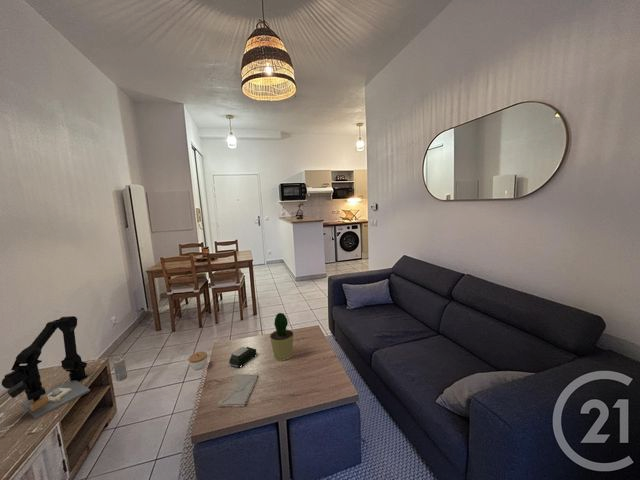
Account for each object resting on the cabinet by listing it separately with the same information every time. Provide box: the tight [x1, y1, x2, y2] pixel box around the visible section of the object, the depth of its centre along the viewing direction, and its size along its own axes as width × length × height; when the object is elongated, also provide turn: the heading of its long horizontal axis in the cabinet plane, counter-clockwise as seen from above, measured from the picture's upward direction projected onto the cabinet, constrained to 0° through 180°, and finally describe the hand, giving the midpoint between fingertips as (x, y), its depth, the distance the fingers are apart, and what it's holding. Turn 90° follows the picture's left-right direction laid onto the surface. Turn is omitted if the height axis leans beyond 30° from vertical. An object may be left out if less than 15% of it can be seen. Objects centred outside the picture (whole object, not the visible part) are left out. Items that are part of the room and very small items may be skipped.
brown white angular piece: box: [30, 388, 72, 411], centre depth 144 cm, size 16×9×4 cm, turn 171°
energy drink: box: [113, 357, 128, 382], centre depth 161 cm, size 5×5×12 cm
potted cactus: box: [269, 312, 294, 361], centre depth 175 cm, size 15×15×30 cm
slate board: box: [20, 380, 91, 420], centre depth 147 cm, size 22×22×4 cm
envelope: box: [217, 373, 259, 406], centre depth 145 cm, size 24×2×14 cm
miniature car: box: [228, 346, 258, 368], centre depth 174 cm, size 9×18×8 cm, turn 151°
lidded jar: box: [187, 351, 208, 371], centre depth 168 cm, size 11×11×9 cm
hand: (36, 402), depth 140 cm, fingers closed
